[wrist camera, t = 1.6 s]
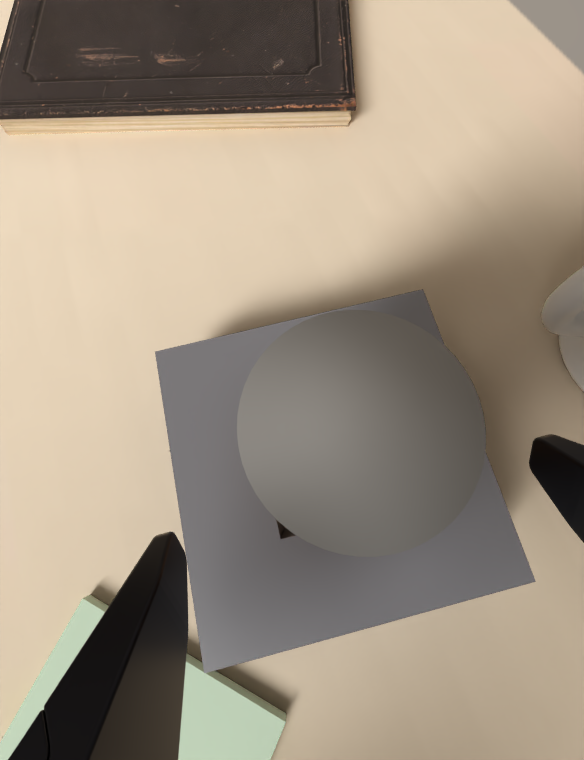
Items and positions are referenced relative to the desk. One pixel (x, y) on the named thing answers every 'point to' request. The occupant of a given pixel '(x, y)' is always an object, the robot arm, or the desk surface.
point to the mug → (568, 322)
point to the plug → (361, 433)
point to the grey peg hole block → (288, 551)
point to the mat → (199, 710)
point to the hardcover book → (175, 65)
